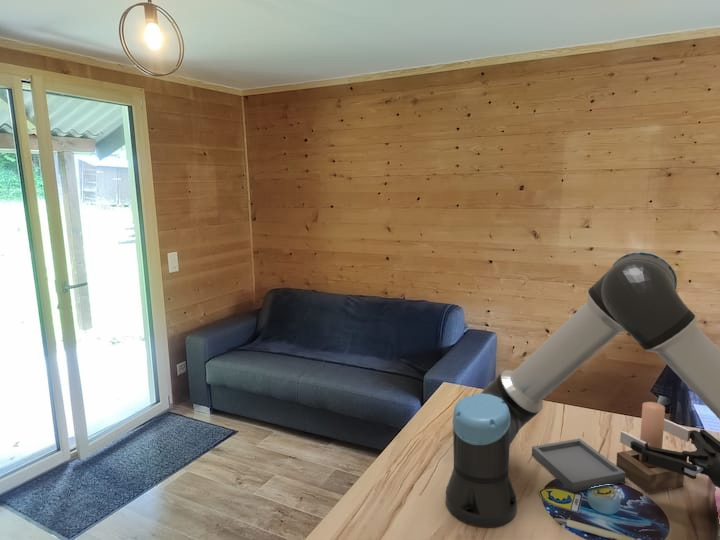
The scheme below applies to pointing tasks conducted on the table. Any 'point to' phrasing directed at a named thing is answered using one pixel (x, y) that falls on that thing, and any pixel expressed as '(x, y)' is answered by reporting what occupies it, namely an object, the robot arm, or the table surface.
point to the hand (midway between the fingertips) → (641, 429)
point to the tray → (577, 465)
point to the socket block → (647, 473)
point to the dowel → (652, 426)
